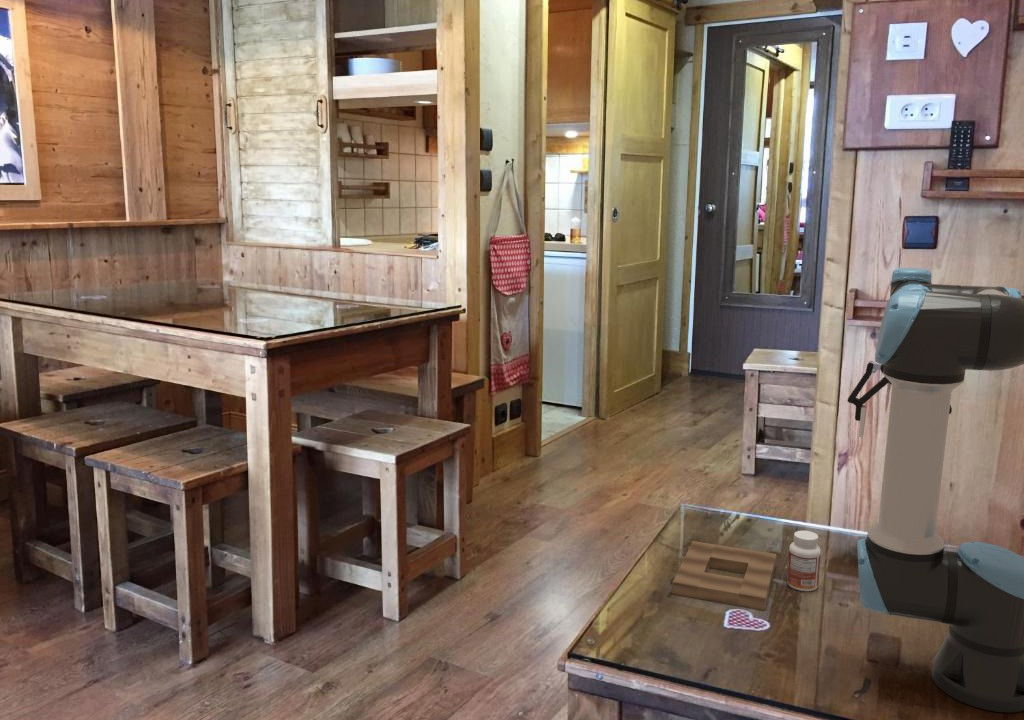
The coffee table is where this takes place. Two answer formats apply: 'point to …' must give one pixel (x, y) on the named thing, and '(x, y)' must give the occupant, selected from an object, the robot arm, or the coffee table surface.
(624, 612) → the coffee table surface
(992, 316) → the robot arm
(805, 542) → the pill bottle
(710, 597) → the square wooden frame
